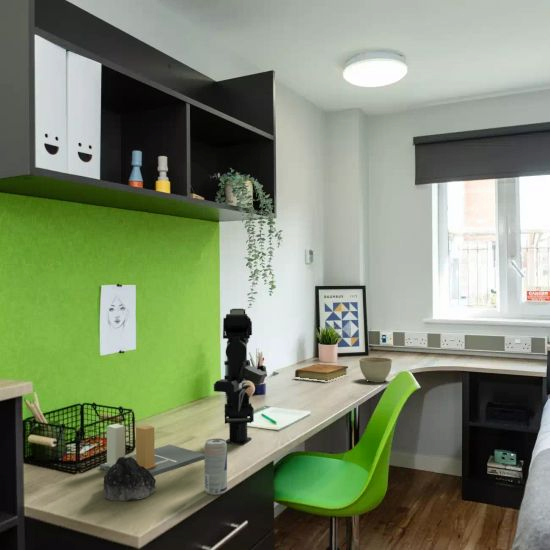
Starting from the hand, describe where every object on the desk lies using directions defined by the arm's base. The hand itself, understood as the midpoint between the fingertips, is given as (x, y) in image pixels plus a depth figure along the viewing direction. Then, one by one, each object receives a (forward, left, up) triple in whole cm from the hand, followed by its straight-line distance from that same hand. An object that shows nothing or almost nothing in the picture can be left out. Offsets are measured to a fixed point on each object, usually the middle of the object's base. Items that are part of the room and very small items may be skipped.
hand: (237, 411), depth 162 cm
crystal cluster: (+34, -13, -13) cm, 39 cm away
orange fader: (+19, -18, -12) cm, 29 cm away
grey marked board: (+13, -20, -13) cm, 27 cm away
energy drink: (+26, +6, -13) cm, 30 cm away
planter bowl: (-132, +16, -13) cm, 134 cm away
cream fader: (+21, -26, -12) cm, 36 cm away
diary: (-133, -12, -14) cm, 134 cm away
